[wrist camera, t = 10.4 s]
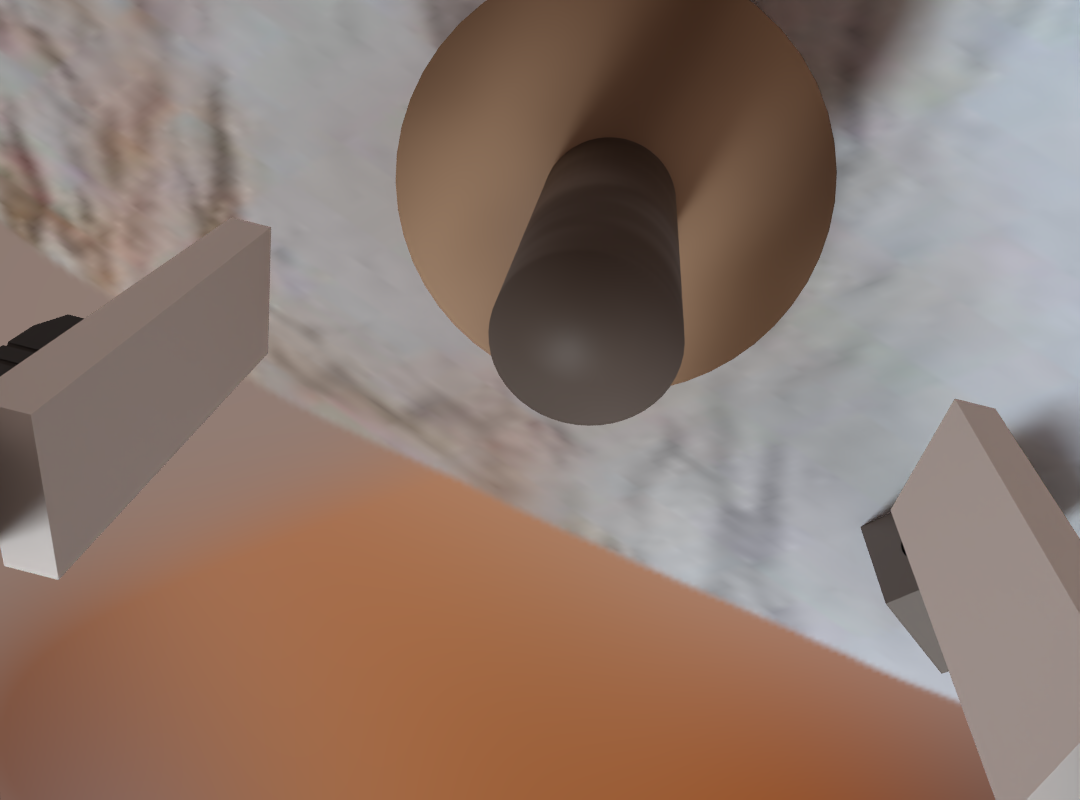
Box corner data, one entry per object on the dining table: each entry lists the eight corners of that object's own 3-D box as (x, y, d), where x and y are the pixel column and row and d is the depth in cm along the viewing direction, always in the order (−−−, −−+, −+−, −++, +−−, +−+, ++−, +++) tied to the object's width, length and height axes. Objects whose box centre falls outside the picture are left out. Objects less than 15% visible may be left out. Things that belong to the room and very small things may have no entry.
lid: (905, 18, 22) (1071, 90, 13) (743, 413, 28) (780, 632, 20) (434, -96, 22) (285, -101, 13) (387, 326, 28) (268, 507, 20)
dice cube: (911, 592, 40) (941, 673, 35) (860, 526, 38) (885, 603, 34) (1013, 549, 37) (1058, 630, 33) (964, 477, 36) (1005, 553, 32)
